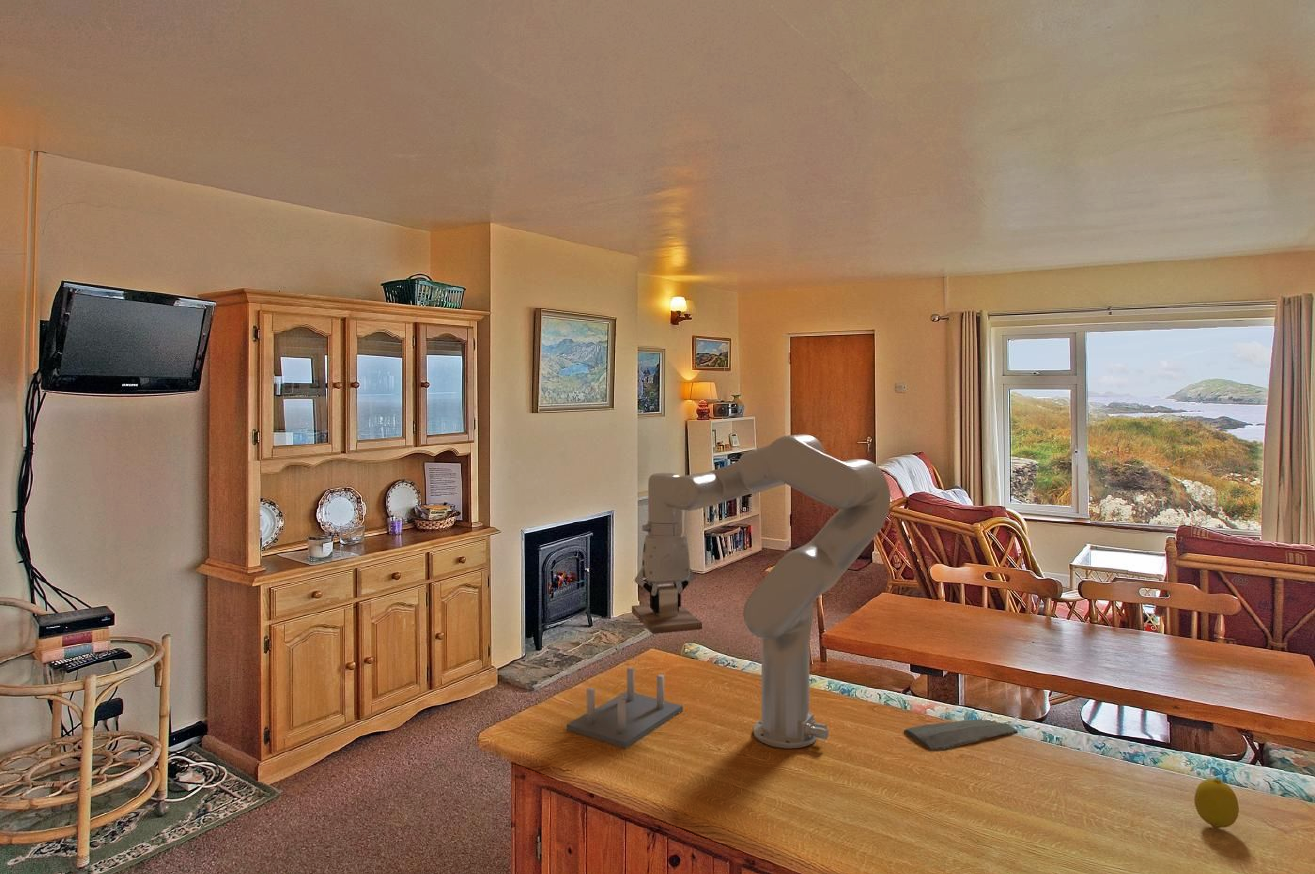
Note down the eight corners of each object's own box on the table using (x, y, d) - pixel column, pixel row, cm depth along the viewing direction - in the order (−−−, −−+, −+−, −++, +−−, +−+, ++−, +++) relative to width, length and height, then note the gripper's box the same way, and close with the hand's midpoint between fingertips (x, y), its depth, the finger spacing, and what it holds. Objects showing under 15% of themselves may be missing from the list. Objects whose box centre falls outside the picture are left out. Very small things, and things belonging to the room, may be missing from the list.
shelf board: (702, 629, 158) (702, 594, 157) (652, 633, 154) (652, 598, 154) (676, 608, 174) (676, 576, 173) (631, 612, 171) (631, 580, 170)
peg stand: (682, 711, 161) (682, 674, 161) (625, 748, 144) (625, 707, 143) (627, 696, 170) (627, 660, 169) (566, 729, 152) (566, 690, 152)
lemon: (1185, 819, 119) (1186, 770, 118) (1217, 817, 119) (1218, 769, 119) (1213, 839, 113) (1215, 788, 113) (1247, 837, 114) (1249, 787, 113)
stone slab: (900, 739, 151) (934, 755, 141) (899, 725, 151) (933, 740, 142) (985, 723, 159) (1023, 737, 149) (984, 710, 159) (1022, 723, 149)
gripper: (633, 533, 157) (633, 618, 158) (706, 530, 162) (706, 612, 163) (624, 528, 164) (624, 609, 165) (695, 524, 169) (695, 603, 170)
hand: (665, 610), depth 164 cm, fingers closed on shelf board, 4 cm apart
